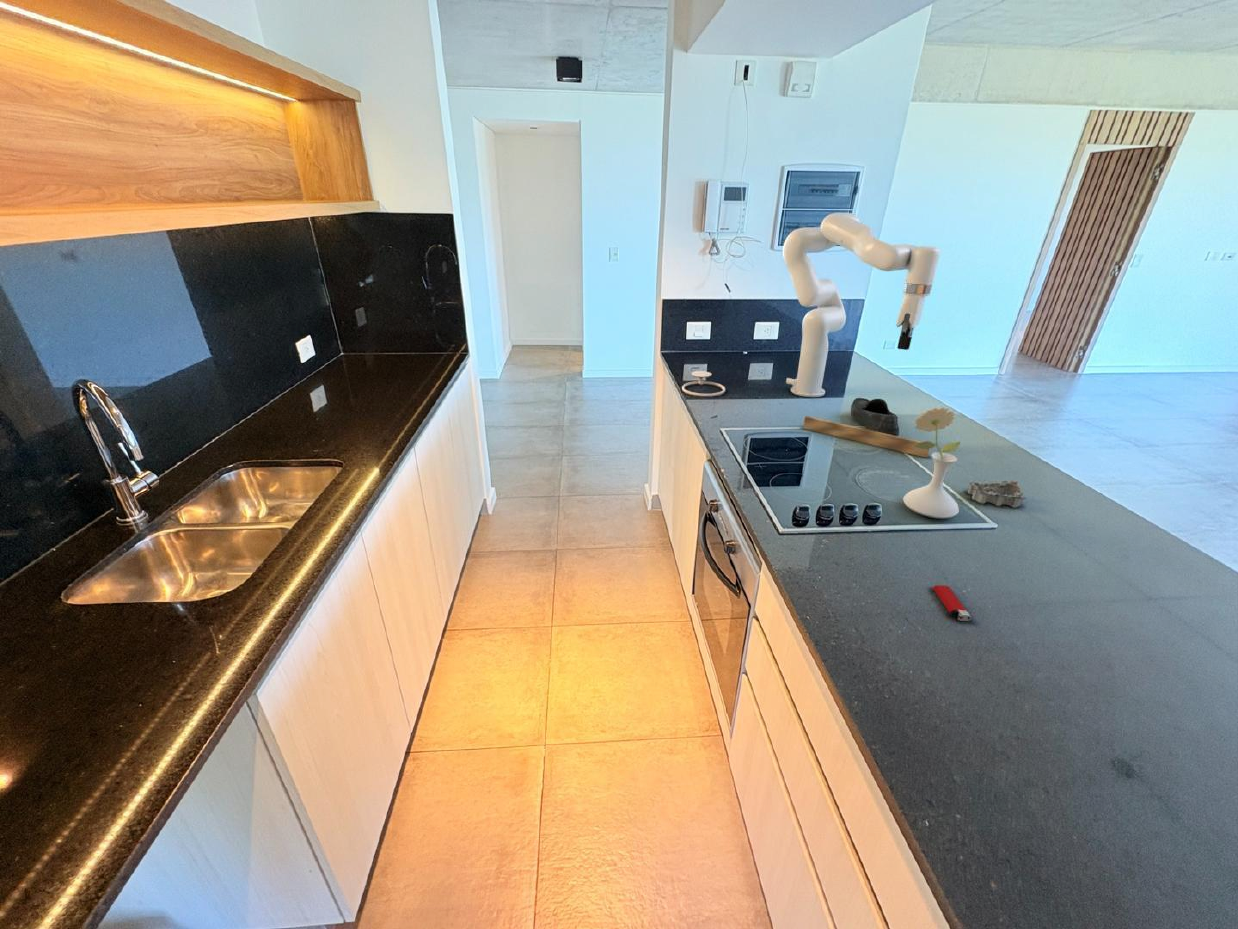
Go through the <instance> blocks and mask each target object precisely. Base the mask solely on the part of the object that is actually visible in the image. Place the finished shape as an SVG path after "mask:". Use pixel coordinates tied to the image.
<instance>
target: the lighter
mask: <svg viewBox="0 0 1238 929" xmlns="http://www.w3.org/2000/svg"><path fill="white" fill-rule="evenodd" d="M932 589H933V591H934V592H935V594H936V595H937V597H938V598H939V600H940V601H941V602H942V604H943V605H944V607H945V609H946V611H948V613H949V614H950V616H951V617H952V618H957V620H959V621H961V622H968V621H970V620H971V619H972V616H971V615H970V613H969V612H968V610H967V609H966V607H965V606H964V605H963V603H962V602H961V601H960V599H959V598H958V597H957V595H956V594H955V593H954V591H953V590H952V588H951V587H950V586H949V585H945V584H943V585H942V584H935V585H934V586H933V588H932Z"/></svg>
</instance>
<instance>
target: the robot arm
mask: <svg viewBox="0 0 1238 929" xmlns="http://www.w3.org/2000/svg"><path fill="white" fill-rule="evenodd" d="M836 246H840V247H843V248H844V249H846V250H849V251H850V252H851V253H854V254H855V256H856V257H857V258H858V260H860V261H861V262H863V263H865V264H867V265H868V266H871V267H872V268H875V269H877V270H879V271H883V272H895V271H905V270H906V275H905V280H904V285H903V289H902V292H901V293H902V295H904V296H903V299H902V302H901V305H900V308H899V313H898V316H897V320H896V324H895V327H896V328H899V327H901V330H900V334H899V339H898V344H897V349H898V350H905V351H908V350H910V347H911V343H912V339H913V334H914V330H915V327H917V326H918V325H919V324H920V321H921V317H922V313H923V309H924V305H925V301H926V297H929V296H930V295H931V291H932V287H933V283H934V279H935V275H936V270H937V266H938V262H939V258H940V255H941V254H940V253H941V249H940V248H939V247H937V246H928V245H924V246H922V245H921V246H920V245H919V246H917V245H913V244H904V243H903V244H891V243H890V244H889V243H887V242H885V241H883V240H881V239H878V238H877V237H875V236H874V235H873V228H872V227H871V226H869V225H867V224H865V223H862V222H860V219H859V217H858V216H857V215H856V214H854V213H852V212H834V213H830V214H828V215H826V216H825V217H824V218H823V219H822V221H821V223H820V226H815V227H814V226H813V227H812V226H807V227H800V228H796V229H794V230H793V231H791V232H790V233H789V234H788V236H787V237H786V239H785V241H784V243H783V247H782V256H783V257H782V258H783V261H784V264H785V266H786V268H787V272H788V273H789V277H790V280H791V283H792V285H793V289H794V292H795V295H796V297H797V300H798V302H799V304H800V305H801V306H802V307H805V308H812V307H813V309H812V310H811V309H810V310H809V311H808V312H807V313H806V314H805V315H804V316H803V319H802V323H801V336H802V337H801V346H800V354H799V355H800V356H799V361H798V367H797V374H796V378H795V379H794V378H791V377H786V380H785V383H786V385H788V386H789V385H791V387H790V392H791V393H792V394H794V395H795V396H799V397H805V398H820V397H824V396H825V395H826V390H825V389H824V388H822V387H823V381H824V376H825V371H826V365H827V359H828V352H829V338H828V335H829V334H832V333H836V332H838V331H841V330H842V329H843V328H844V326H845V324H846V321H847V314H846V310H845V307H844V304H843V300H842V298H841V294H840V292H839V290H838V287H837V285H836V283H835V282H834V281H832V280H831V279H829V278H819V276H818V275H817V274H818V273H817V272H816V269H815V266H814V263H813V262H812V260H811V259H810V258H809V257H808V255H807V254H813V253H822V252H825V251H827V250H829V249H832V248H834V247H836ZM814 307H817V308H814Z"/></svg>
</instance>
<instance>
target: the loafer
mask: <svg viewBox="0 0 1238 929" xmlns="http://www.w3.org/2000/svg"><path fill="white" fill-rule="evenodd" d="M850 415H851V418H852V419H853V421H855V422H856V423H857V424H859V425H861V426H864V427H866V429H867V430H872V431H876V432H881V433H885V434H890V435H894V436H899V437H900V427H899V421H898V419H899V417H898V416H897V414H895V413H894V412H892V411H890V409H889V407H888V403H887V402H886V401H885V400H884V399H882V398H874V399H870V400H869V399H867V398H863V397H856V398H855V399H853V401H852V403H851V405H850Z"/></svg>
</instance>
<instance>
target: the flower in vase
mask: <svg viewBox="0 0 1238 929" xmlns="http://www.w3.org/2000/svg"><path fill="white" fill-rule="evenodd" d="M949 410H950V408H949V407H940V408H938V407H933V408H932V410H931V409H929V410H927V411H925V412H924V413H921V414H919V417H917V418H916V419H915V420H914V421H915V422H914V424H915V429H918V430H919V431H923V432H929V433H931V432H933V431H934V432H935V442H932V441H930V440H929V441H927V440H926V441H921V443H919V444H917V445H916V446H914V447H918V448H922V449H929V450H931V449H933V448H935V447H936V448H937V451H938V452H932V453H931V457H932V460H933V464H934V469H933V474H932V477H931V481H930V482H929V483H928V484H927V485H925V486H922V487H921V486H920V487H918V488H915V489H912V490H910V491H908V492H906V494H905V495H904V496H903V497H902V498H903V499H902V500H903V502H904V504H905V506H906V507H907V508H908V509H909V510H911V511H912V512H913V513H914V512H915V513H916V514H918V515H921V516H924V517H928V518H934V519H950V518H953V517H955V516H956V515H958V513H959V512H960V509H959V505H958V503H957V501H956V500H955V499H954V498H953V497H952V496H951V494H949V493H948V491H946V490H945V489H944V481H945V480H944V479H945V476H946V474H947V473H948V470H949V468H950V467H951V466H952V464H954V463H956V462H957V461H958V457H956V456H955V455H952V454H950V453H952V452H955V451H956V450H957V449H958V448H959V446H960V445H961V441H956V442H951V443H945V444H944V445H943V446H942V448H941V449H940V446H939V444H938V431H939V430H944V429H945V428H946V427H948V426H950V425H951V424H953V423H954V419H955V415H956V414H955V411H954V410H950V411H949Z"/></svg>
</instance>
